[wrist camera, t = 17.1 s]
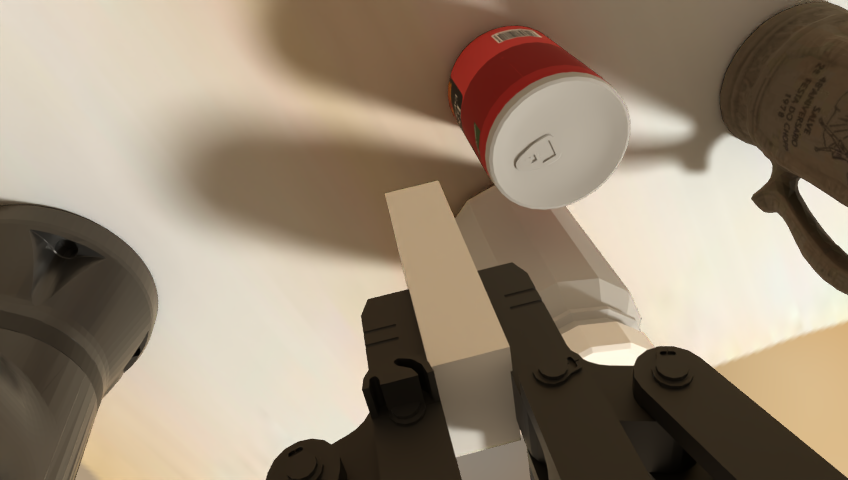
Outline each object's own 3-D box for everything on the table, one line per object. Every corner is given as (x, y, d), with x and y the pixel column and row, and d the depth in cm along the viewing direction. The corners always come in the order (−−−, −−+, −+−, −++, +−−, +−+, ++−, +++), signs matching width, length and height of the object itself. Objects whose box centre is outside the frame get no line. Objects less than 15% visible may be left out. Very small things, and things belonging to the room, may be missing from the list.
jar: (430, 195, 45) (498, 369, 30) (555, 157, 45) (684, 311, 30) (457, 292, 50) (525, 479, 35) (568, 258, 50) (682, 430, 36)
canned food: (421, 86, 40) (458, 156, 31) (511, -6, 38) (579, 41, 29) (493, 155, 44) (545, 236, 35) (579, 75, 42) (658, 139, 33)
